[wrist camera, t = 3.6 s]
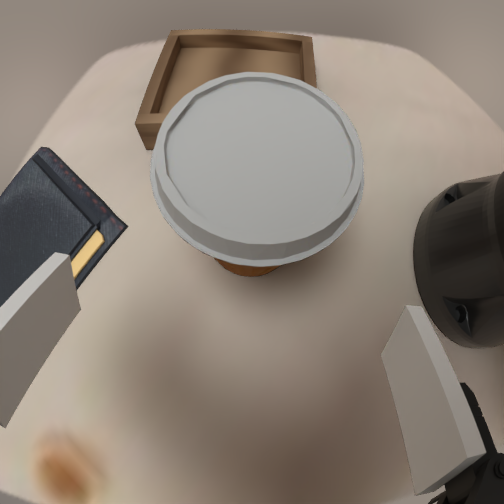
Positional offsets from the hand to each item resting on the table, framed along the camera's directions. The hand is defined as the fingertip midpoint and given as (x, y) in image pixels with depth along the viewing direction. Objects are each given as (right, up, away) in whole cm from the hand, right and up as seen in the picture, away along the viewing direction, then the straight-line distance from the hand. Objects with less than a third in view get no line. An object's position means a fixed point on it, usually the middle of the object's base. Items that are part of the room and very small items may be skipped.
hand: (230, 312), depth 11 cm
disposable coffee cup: (+1, +3, +13) cm, 13 cm away
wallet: (-21, +1, +12) cm, 24 cm away
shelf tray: (-1, +17, +16) cm, 23 cm away
